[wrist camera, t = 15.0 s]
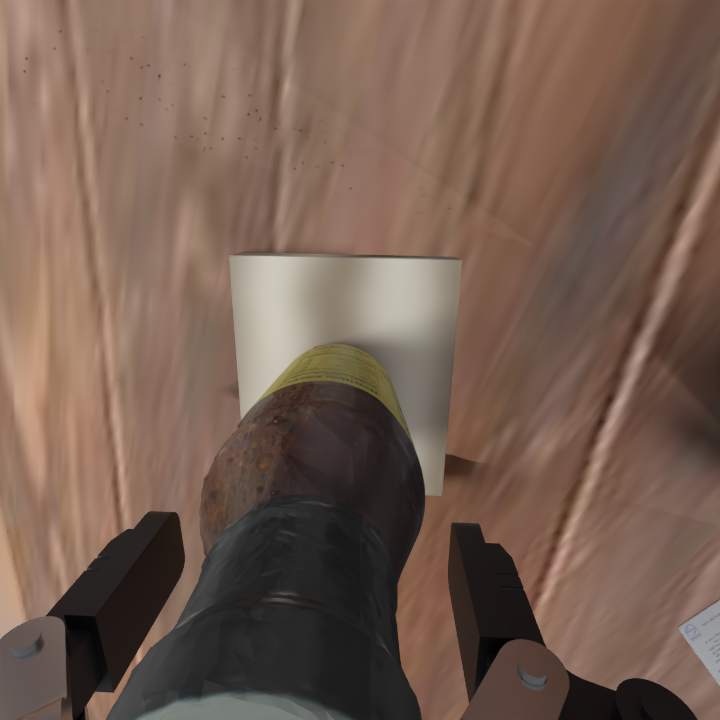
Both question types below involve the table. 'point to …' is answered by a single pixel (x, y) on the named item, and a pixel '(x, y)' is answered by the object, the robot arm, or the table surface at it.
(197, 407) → the table surface
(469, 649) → the robot arm
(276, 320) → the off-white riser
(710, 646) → the light bulb box
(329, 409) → the sauce bottle
